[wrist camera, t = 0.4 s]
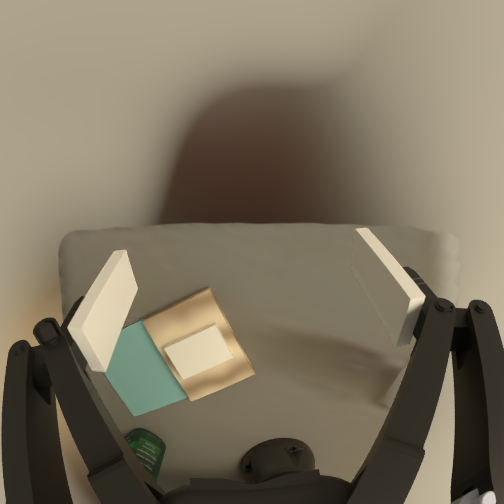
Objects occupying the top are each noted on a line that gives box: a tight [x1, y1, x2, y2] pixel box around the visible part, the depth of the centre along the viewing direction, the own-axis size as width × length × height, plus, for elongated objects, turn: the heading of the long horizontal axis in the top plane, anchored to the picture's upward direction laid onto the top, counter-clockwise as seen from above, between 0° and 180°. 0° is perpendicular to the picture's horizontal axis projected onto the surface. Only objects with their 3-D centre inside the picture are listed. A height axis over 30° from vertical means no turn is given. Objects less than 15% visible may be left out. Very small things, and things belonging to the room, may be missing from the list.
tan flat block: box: [143, 287, 255, 401], centre depth 46 cm, size 16×12×2 cm
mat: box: [104, 318, 188, 417], centre depth 46 cm, size 16×13×1 cm
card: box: [164, 322, 233, 380], centre depth 44 cm, size 6×9×2 cm, turn 116°
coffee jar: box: [125, 429, 166, 482], centre depth 38 cm, size 10×8×19 cm
